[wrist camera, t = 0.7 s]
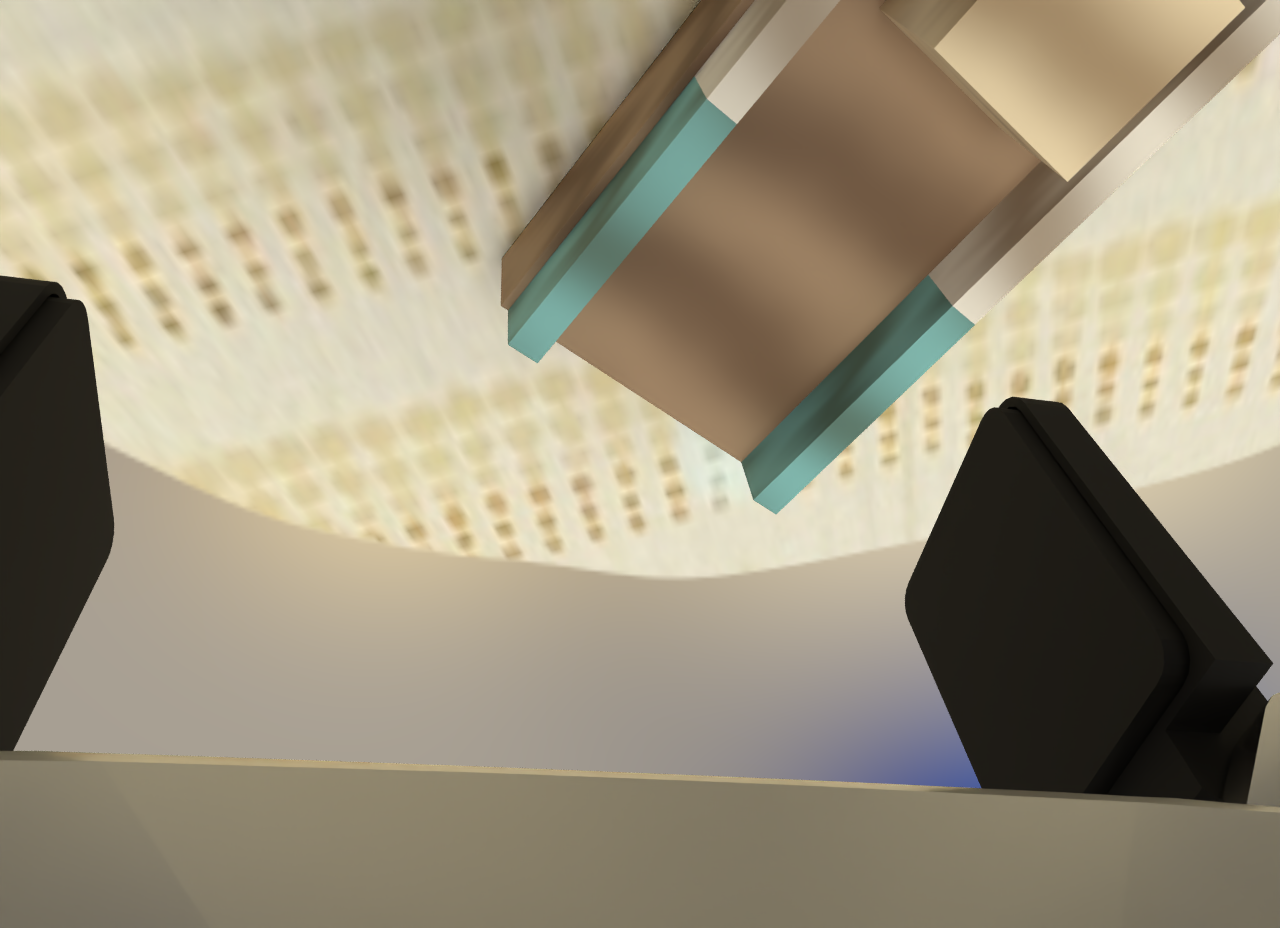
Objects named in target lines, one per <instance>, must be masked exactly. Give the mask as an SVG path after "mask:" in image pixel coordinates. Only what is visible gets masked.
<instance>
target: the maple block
mask: <svg viewBox="0 0 1280 928" xmlns="http://www.w3.org/2000/svg"><path fill="white" fill-rule="evenodd" d="M1244 8H1245V7H1244V5H1243V4H1242V3H1241V1H1240V0H886V1H885V3H884V4H883V5H882V6H881V7H880V8H879V9H880V10H881V11H882V12H883V13H884V14H885V15H886V16H887V17H888V18H889V19H890V20H891V21H892V22H893V23H894V24H895V25H896V26H897V27H898V28H899V29H900V30H901V31H902V32H903V33H904V34H905V35H906V36H907V37H908V38H909V39H911V40H912V41H913V42H914V43H915V44H916V45H917V46H918V47H919V48H920V49H921V50H922V51H923V52H924V53H925V54H926V55H927V56H928V57H929V58H930V59H931V60H932V61H933V62H934V63H935V64H936V65H937V66H938V67H939V68H940V69H941V70H942V71H943V72H944V73H945V74H946V75H947V76H948V77H949V78H950V79H951V80H952V81H953V82H954V83H955V84H956V85H957V86H958V87H959V88H960V89H961V90H962V91H963V92H964V93H965V94H966V95H967V96H968V97H969V98H970V99H971V100H972V101H973V102H974V103H975V104H976V105H977V106H978V107H979V108H980V109H981V110H982V111H983V112H984V113H985V114H986V115H987V116H988V117H989V118H990V119H991V120H992V121H993V122H994V123H995V124H996V125H997V126H998V127H999V128H1000V129H1002V130H1003V131H1004V132H1005V133H1007V134H1008V135H1009V136H1010V137H1012V138H1013V139H1014V140H1015V141H1017V142H1018V143H1019V144H1021V145H1022V146H1023V147H1024V148H1026V149H1027V150H1028V151H1029V152H1031V153H1032V154H1033V155H1034V156H1036V157H1037V158H1038V159H1039V160H1041V161H1042V162H1043V163H1045V164H1046V165H1047V166H1048V167H1050V168H1051V169H1052V170H1053V171H1055V172H1056V173H1057V174H1058V175H1060V176H1061V177H1062V178H1063V179H1065V180H1066V181H1067V182H1068V181H1069V180H1070V179H1071V178H1072V177H1073V176H1074V175H1075V174H1076V173H1077V172H1078V171H1079V170H1080V169H1081V168H1082V167H1083V166H1084V165H1085V164H1086V163H1087V162H1088V161H1089V160H1090V159H1091V158H1092V157H1093V156H1094V155H1095V154H1096V153H1097V152H1098V151H1099V150H1101V149H1102V148H1103V147H1104V146H1105V145H1106V144H1107V143H1108V142H1109V141H1110V140H1111V139H1112V138H1113V137H1114V136H1115V135H1116V134H1117V133H1118V132H1119V131H1120V130H1121V129H1122V128H1123V127H1124V126H1125V125H1126V124H1127V123H1128V122H1129V121H1130V120H1131V119H1132V118H1133V117H1134V116H1135V115H1136V114H1137V113H1138V112H1139V111H1140V110H1141V109H1142V108H1143V107H1144V106H1145V105H1146V104H1147V103H1148V102H1149V101H1151V100H1152V99H1153V98H1154V97H1155V96H1156V95H1157V94H1158V93H1159V92H1160V91H1161V90H1162V89H1163V88H1164V87H1165V86H1166V85H1167V84H1168V83H1169V82H1170V81H1171V80H1172V79H1173V78H1174V77H1175V76H1176V75H1177V74H1178V73H1179V72H1180V71H1181V70H1182V69H1183V68H1184V67H1185V66H1186V65H1187V64H1188V63H1189V62H1190V61H1191V60H1192V59H1193V58H1194V57H1195V56H1196V55H1197V54H1198V53H1199V52H1200V51H1202V50H1203V49H1204V48H1205V47H1206V46H1207V45H1208V44H1209V43H1210V42H1211V41H1212V40H1213V39H1214V38H1215V37H1216V36H1217V35H1218V34H1219V33H1220V32H1221V31H1222V30H1223V29H1224V28H1225V27H1226V26H1227V25H1228V24H1229V23H1230V22H1231V21H1232V20H1233V19H1234V18H1235V17H1236V16H1237V15H1238V14H1239V13H1240V12H1241V11H1242V10H1243V9H1244Z"/></svg>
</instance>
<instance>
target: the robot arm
mask: <svg viewBox="0 0 1280 928" xmlns="http://www.w3.org/2000/svg"><path fill="white" fill-rule="evenodd" d="M113 536H114V517H113V510H112V501H111V494H110V486H109V478H108V471H107V463H106V455H105V447H104V440H103V432H102V424H101V417H100V409H99V401H98V393H97V386H96V378H95V370H94V362H93V355H92V347H91V339H90V332H89V324H88V317H87V312H86V308H85V306H84V304H83V303H82V302H81V301H80V300H73V299H67V297H66V294H65V292H64V290H63V288H62V286H61V285H60V284H59V283H57V282H50V281H41V280H33V279H25V278H16V277H8V276H0V928H1280V693H1278V694H1275V695H1273V696H1272V697H1271V698H1270V699H1269V701H1267V700H1266V698H1265V697H1264V696H1263V695H1262V693H1261V692H1260V691H1259V689H1258V688H1257V687H1256V685H1257V684H1258V683H1259V682H1260V680H1261V679H1262V678H1263V676H1264V675H1265V674H1266V672H1267V671H1268V670H1269V668H1270V667H1271V666H1272V664H1273V662H1272V661H1271V660H1270V659H1269V657H1268V656H1267V655H1266V654H1265V652H1264V651H1263V650H1262V649H1261V648H1260V646H1259V645H1258V644H1257V643H1256V641H1255V640H1254V639H1253V638H1252V636H1251V635H1250V634H1249V633H1248V631H1247V630H1246V629H1245V628H1244V626H1243V625H1242V624H1241V623H1240V621H1239V620H1238V619H1237V618H1236V616H1235V615H1234V614H1233V613H1232V612H1231V610H1230V609H1229V608H1228V606H1227V605H1226V604H1225V603H1224V601H1223V600H1222V599H1221V598H1220V596H1219V595H1218V594H1217V593H1216V591H1215V590H1214V589H1213V588H1212V587H1211V585H1210V584H1209V583H1208V582H1207V580H1206V579H1205V578H1204V577H1203V575H1202V574H1201V573H1200V572H1199V570H1198V569H1197V568H1196V567H1195V565H1194V564H1193V563H1192V562H1191V560H1190V559H1189V558H1188V557H1187V555H1186V554H1185V553H1184V552H1183V550H1182V549H1181V548H1180V547H1179V545H1178V544H1177V543H1176V542H1175V541H1174V539H1173V538H1172V537H1171V535H1170V534H1169V533H1168V532H1167V531H1166V529H1165V528H1164V527H1163V526H1162V524H1161V523H1160V522H1159V521H1158V519H1157V518H1156V517H1155V516H1154V514H1153V513H1152V512H1151V511H1150V509H1149V508H1148V507H1147V506H1146V504H1145V503H1144V502H1143V501H1142V499H1141V498H1140V497H1139V496H1138V494H1137V493H1136V492H1135V491H1134V489H1133V488H1132V487H1131V486H1130V484H1129V483H1128V482H1127V481H1126V479H1125V478H1124V477H1123V476H1122V474H1121V473H1120V472H1119V471H1118V469H1117V468H1116V467H1115V466H1114V465H1113V463H1112V462H1111V461H1110V460H1109V458H1108V457H1107V456H1106V455H1105V453H1104V452H1103V451H1102V450H1101V448H1100V447H1099V446H1098V445H1097V443H1096V442H1095V441H1094V440H1093V438H1092V437H1091V436H1090V435H1089V433H1088V432H1087V431H1086V430H1085V428H1084V427H1083V426H1082V425H1081V423H1080V422H1079V421H1078V420H1077V418H1076V417H1075V416H1074V415H1073V413H1072V412H1071V411H1070V410H1069V408H1068V407H1066V406H1065V405H1064V404H1063V403H1059V402H1052V401H1044V400H1036V399H1027V398H1019V397H1011V398H1008V399H1006V400H1005V401H1004V402H1003V403H1002V404H1001V405H1000V406H999V408H995V407H994V408H992V409H989V410H988V411H987V412H986V413H985V415H984V417H983V418H982V420H981V422H980V424H979V427H978V429H977V431H976V433H975V436H974V438H973V440H972V442H971V445H970V447H969V449H968V451H967V453H966V456H965V458H964V460H963V462H962V465H961V467H960V469H959V471H958V474H957V476H956V478H955V480H954V482H953V485H952V487H951V489H950V491H949V494H948V496H947V498H946V500H945V503H944V505H943V507H942V509H941V512H940V514H939V516H938V518H937V520H936V523H935V525H934V527H933V529H932V532H931V534H930V536H929V538H928V541H927V543H926V545H925V547H924V549H923V552H922V554H921V556H920V558H919V561H918V563H917V565H916V568H915V570H914V572H913V574H912V576H911V579H910V581H909V583H908V587H907V589H906V595H905V609H906V614H907V617H908V620H909V622H910V625H911V626H912V629H913V631H914V634H915V636H916V638H917V641H918V643H919V645H920V648H921V650H922V652H923V654H924V657H925V659H926V661H927V664H928V666H929V668H930V671H931V673H932V675H933V677H934V680H935V682H936V684H937V686H938V689H939V691H940V694H941V696H942V698H943V700H944V703H945V705H946V707H947V709H948V712H949V714H950V716H951V719H952V721H953V723H954V726H955V728H956V730H957V732H958V735H959V737H960V739H961V742H962V744H963V746H964V749H965V751H966V753H967V756H968V758H969V760H970V762H971V765H972V767H973V769H974V772H975V774H976V776H977V778H978V781H979V783H980V785H981V788H962V787H940V786H920V785H899V784H877V783H857V782H835V781H815V780H790V779H768V778H767V779H766V778H745V777H721V776H697V775H675V774H651V773H626V772H603V771H578V770H577V771H576V770H553V769H529V768H504V767H480V766H450V765H424V764H397V763H396V764H395V763H370V762H342V761H314V760H286V759H261V758H233V757H205V756H178V755H176V756H175V755H146V754H115V753H112V754H111V753H83V752H53V751H13V750H14V748H15V746H16V744H17V742H18V740H19V738H20V736H21V734H22V731H23V730H24V727H25V726H26V723H27V721H28V719H29V717H30V715H31V713H32V711H33V709H34V707H35V705H36V703H37V701H38V699H39V697H40V695H41V693H42V691H43V689H44V687H45V685H46V683H47V681H48V679H49V677H50V675H51V673H52V671H53V669H54V667H55V665H56V662H57V661H58V659H59V656H60V654H61V652H62V650H63V648H64V646H65V644H66V642H67V640H68V638H69V636H70V634H71V632H72V630H73V628H74V626H75V624H76V622H77V620H78V618H79V616H80V614H81V612H82V610H83V608H84V606H85V603H86V602H87V599H88V598H89V595H90V593H91V591H92V589H93V587H94V585H95V583H96V581H97V579H98V577H99V575H100V573H101V571H102V569H103V567H104V565H105V563H106V561H107V559H108V556H109V554H110V551H111V547H112V542H113Z"/></svg>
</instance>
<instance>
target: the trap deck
mask: <svg viewBox="0 0 1280 928" xmlns="http://www.w3.org/2000/svg"><path fill="white" fill-rule="evenodd" d="M885 1H886V0H701V1H700V2H699V4H698V5H697V6H696V8H695V9H694V10H693V11H692V13H691V14H690V15H689V17H688V18H687V19H686V20H685V22H684V23H683V24H682V26H681V27H680V28H679V30H678V31H677V32H676V33H675V35H674V36H673V37H672V39H671V40H670V41H669V43H668V44H667V45H666V46H665V48H664V49H663V50H662V52H661V53H660V54H659V55H658V57H657V58H656V59H655V61H654V62H653V63H652V65H651V66H650V67H649V68H648V70H647V71H646V72H645V74H644V75H643V76H642V78H641V79H640V80H639V81H638V83H637V84H636V85H635V87H634V88H633V89H632V90H631V92H630V93H629V94H628V96H627V97H626V98H625V100H624V101H623V102H622V103H621V105H620V106H619V107H618V109H617V110H616V111H615V113H614V114H613V115H612V116H611V118H610V119H609V120H608V122H607V123H606V124H605V126H604V127H603V128H602V129H601V131H600V132H599V133H598V135H597V136H596V137H595V138H594V140H593V141H592V142H591V144H590V145H589V146H588V148H587V149H586V150H585V151H584V153H583V154H582V155H581V157H580V158H579V159H578V161H577V162H576V163H575V164H574V166H573V167H572V168H571V170H570V171H569V172H568V173H567V175H566V176H565V177H564V179H563V180H562V181H561V183H560V184H559V185H558V186H557V188H556V189H555V190H554V192H553V193H552V194H551V196H550V197H549V198H548V199H547V201H546V202H545V203H544V205H543V206H542V207H541V208H540V210H539V211H538V212H537V214H536V215H535V216H534V218H533V219H532V220H531V221H530V223H529V224H528V225H527V227H526V228H525V229H524V231H523V232H522V233H521V234H520V236H519V237H518V238H517V240H516V241H515V242H514V243H513V245H512V246H511V247H510V249H509V250H508V251H507V253H506V254H505V255H504V256H503V258H502V278H501V306H502V307H504V308H505V309H507V310H508V345H509V346H511V347H513V348H514V349H516V350H517V351H519V352H521V353H522V354H524V355H525V356H527V357H528V358H530V359H532V360H533V361H535V362H536V363H538V362H539V361H540V360H541V359H542V357H543V356H544V355H545V354H546V353H547V351H548V350H549V349H550V348H551V347H552V345H553V344H554V343H555V342H558V343H559V344H561V345H562V346H564V347H565V348H567V349H568V350H570V351H571V352H573V353H574V354H576V355H578V356H579V357H581V358H582V359H584V360H585V361H587V362H588V363H590V364H591V365H593V366H594V367H596V368H598V369H599V370H601V371H602V372H604V373H605V374H607V375H608V376H610V377H611V378H613V379H614V380H616V381H618V382H619V383H621V384H622V385H624V386H625V387H627V388H628V389H630V390H631V391H633V392H634V393H636V394H637V395H639V396H641V397H642V398H644V399H645V400H647V401H648V402H650V403H651V404H653V405H654V406H656V407H657V408H659V409H661V410H662V411H664V412H665V413H667V414H668V415H670V416H671V417H673V418H674V419H676V420H677V421H679V422H681V423H682V424H684V425H685V426H687V427H688V428H690V429H691V430H693V431H694V432H696V433H697V434H699V435H701V436H702V437H704V438H705V439H707V440H708V441H710V442H711V443H713V444H714V445H716V446H717V447H719V448H720V449H722V450H724V451H725V452H727V453H728V454H730V455H731V456H733V457H734V458H736V459H737V460H739V461H740V462H741V463H742V466H743V469H744V472H745V475H746V478H747V481H748V484H749V488H750V491H751V494H752V497H753V500H754V501H756V502H757V503H759V504H761V505H762V506H764V507H765V508H767V509H768V510H770V511H772V512H773V513H775V514H777V513H778V512H779V511H780V510H781V509H782V508H783V507H784V506H786V505H787V504H788V503H789V502H790V501H791V500H792V499H793V498H794V497H795V496H796V495H797V494H798V493H799V492H800V491H801V490H802V489H803V488H804V487H805V486H806V485H808V484H809V483H810V482H811V481H812V480H813V479H814V478H815V477H816V476H817V475H818V474H819V473H820V472H821V471H822V470H823V469H824V468H825V467H826V466H827V465H829V464H830V463H831V462H832V461H833V460H834V459H835V458H836V457H837V456H838V455H839V454H840V453H841V452H842V451H843V450H844V449H845V448H846V447H847V446H848V445H849V444H851V443H852V442H853V441H854V440H855V439H856V438H857V437H858V436H859V435H860V434H861V433H862V432H863V431H864V430H865V429H866V428H867V427H868V426H869V425H870V424H871V423H873V422H874V421H875V420H876V419H877V418H878V417H879V416H880V415H881V414H882V413H883V412H884V411H885V410H886V409H887V408H888V407H889V406H890V405H891V404H892V403H893V402H895V401H896V400H897V399H898V398H899V397H900V396H901V395H902V394H903V393H904V392H905V391H906V390H907V389H908V388H909V387H910V386H911V385H912V384H913V383H914V382H916V381H917V380H918V379H919V378H920V377H921V376H922V375H923V374H924V373H925V372H926V371H927V370H928V369H929V368H930V367H931V366H932V365H933V364H934V363H935V362H936V361H938V360H939V359H940V358H941V357H942V356H943V355H944V354H945V353H946V352H947V351H948V350H949V349H950V348H951V347H952V346H953V345H954V344H955V343H956V342H957V341H958V340H960V339H961V338H962V337H963V336H964V335H965V334H966V333H967V332H968V331H969V330H970V329H971V328H972V327H973V326H974V325H975V324H976V323H977V322H978V321H979V320H981V319H982V318H983V317H984V316H985V315H986V314H987V313H988V312H989V311H990V310H991V309H992V308H993V307H994V306H995V305H996V304H997V303H998V302H999V301H1000V300H1001V299H1003V298H1004V297H1005V296H1006V295H1007V294H1008V293H1009V292H1010V291H1011V290H1012V289H1013V288H1014V287H1015V286H1016V285H1017V284H1018V283H1019V282H1020V281H1021V280H1022V279H1023V278H1025V277H1026V276H1027V275H1028V274H1029V273H1030V272H1031V271H1032V270H1033V269H1034V268H1035V267H1036V266H1037V265H1038V264H1039V263H1040V262H1041V261H1042V260H1043V259H1044V258H1045V257H1047V256H1048V255H1049V254H1050V253H1051V252H1052V251H1053V250H1054V249H1055V248H1056V247H1057V246H1058V245H1059V244H1060V243H1061V242H1062V241H1063V240H1064V239H1065V238H1066V237H1068V236H1069V235H1070V234H1071V233H1072V232H1073V231H1074V230H1075V229H1076V228H1077V227H1078V226H1079V225H1080V224H1081V223H1082V222H1083V221H1084V220H1085V219H1086V218H1087V217H1088V216H1090V215H1091V214H1092V213H1093V212H1094V211H1095V210H1096V209H1097V208H1098V207H1099V206H1100V205H1101V204H1102V203H1103V202H1104V201H1105V200H1106V199H1107V198H1108V197H1109V196H1110V195H1112V194H1113V193H1114V192H1115V191H1116V190H1117V189H1118V188H1119V187H1120V186H1121V185H1122V184H1123V183H1124V182H1125V181H1126V180H1127V179H1128V178H1129V177H1130V176H1131V175H1132V174H1134V173H1135V172H1136V171H1137V170H1138V169H1139V168H1140V167H1141V166H1142V165H1143V164H1144V163H1145V162H1146V161H1147V160H1148V159H1149V158H1150V157H1151V156H1152V155H1153V154H1155V153H1156V152H1157V151H1158V150H1159V149H1160V148H1161V147H1162V146H1163V145H1164V144H1165V143H1166V142H1167V141H1168V140H1169V139H1170V138H1171V137H1172V136H1173V135H1174V134H1175V133H1177V132H1178V131H1179V130H1180V129H1181V128H1182V127H1183V126H1184V125H1185V124H1186V123H1187V122H1188V121H1189V120H1190V119H1191V118H1192V117H1193V116H1194V115H1195V114H1196V113H1197V112H1199V111H1200V110H1201V109H1202V108H1203V107H1204V106H1205V105H1206V104H1207V103H1208V102H1209V101H1210V100H1211V99H1212V98H1213V97H1214V96H1215V95H1216V94H1217V93H1218V92H1220V91H1221V90H1222V89H1223V88H1224V87H1225V86H1226V85H1227V84H1228V83H1229V82H1230V81H1231V80H1232V79H1233V78H1234V77H1235V76H1236V75H1237V74H1238V73H1239V72H1240V71H1242V70H1243V69H1244V68H1245V67H1246V66H1247V65H1248V64H1249V63H1250V62H1251V61H1252V60H1253V59H1254V58H1255V57H1256V56H1257V55H1258V54H1259V53H1260V52H1261V51H1262V50H1264V49H1265V48H1266V47H1267V46H1268V45H1269V44H1270V43H1271V42H1272V41H1273V40H1274V39H1275V38H1276V37H1277V36H1278V35H1279V34H1280V0H1240V1H1241V3H1242V4H1243V5H1244V7H1245V8H1244V9H1243V10H1242V11H1241V12H1240V13H1239V14H1238V15H1237V16H1236V17H1235V18H1234V19H1233V20H1232V21H1231V22H1230V23H1229V24H1228V25H1227V26H1226V27H1225V28H1224V29H1223V30H1222V31H1221V32H1220V33H1219V34H1218V35H1217V36H1216V37H1215V38H1214V39H1213V40H1212V41H1211V42H1210V43H1209V44H1208V45H1207V46H1206V47H1205V48H1204V49H1203V50H1202V51H1200V52H1199V53H1198V54H1197V55H1196V56H1195V57H1194V58H1193V59H1192V60H1191V61H1190V62H1189V63H1188V64H1187V65H1186V66H1185V67H1184V68H1183V69H1182V70H1181V71H1180V72H1179V73H1178V74H1177V75H1176V76H1175V77H1174V78H1173V79H1172V80H1171V81H1170V82H1169V83H1168V84H1167V85H1166V86H1165V87H1164V88H1163V89H1162V90H1161V91H1160V92H1159V93H1158V94H1157V95H1156V96H1155V97H1154V98H1153V99H1152V100H1151V101H1149V102H1148V103H1147V104H1146V105H1145V106H1144V107H1143V108H1142V109H1141V110H1140V111H1139V112H1138V113H1137V114H1136V115H1135V116H1134V117H1133V118H1132V119H1131V120H1130V121H1129V122H1128V123H1127V124H1126V125H1125V126H1124V127H1123V128H1122V129H1121V130H1120V131H1119V132H1118V133H1117V134H1116V135H1115V136H1114V137H1113V138H1112V139H1111V140H1110V141H1109V142H1108V143H1107V144H1106V145H1105V146H1104V147H1103V148H1102V149H1101V150H1099V151H1098V152H1097V153H1096V154H1095V155H1094V156H1093V157H1092V158H1091V159H1090V160H1089V161H1088V162H1087V163H1086V164H1085V165H1084V166H1083V167H1082V168H1081V169H1080V170H1079V171H1078V172H1077V173H1076V174H1075V175H1074V176H1073V177H1072V178H1071V179H1070V180H1069V181H1068V182H1067V181H1066V180H1065V179H1063V178H1062V177H1061V176H1060V175H1058V174H1057V173H1056V172H1055V171H1053V170H1052V169H1051V168H1050V167H1048V166H1047V165H1046V164H1045V163H1043V162H1042V161H1041V160H1039V159H1038V158H1037V157H1036V156H1034V155H1033V154H1032V153H1031V152H1029V151H1028V150H1027V149H1026V148H1024V147H1023V146H1022V145H1021V144H1019V143H1018V142H1017V141H1015V140H1014V139H1013V138H1012V137H1010V136H1009V135H1008V134H1007V133H1005V132H1004V131H1003V130H1002V129H1000V128H999V127H998V126H997V125H996V124H995V123H994V122H993V121H992V120H991V119H990V118H989V117H988V116H987V115H986V114H985V113H984V112H983V111H982V110H981V109H980V108H979V107H978V106H977V105H976V104H975V103H974V102H973V101H972V100H971V99H970V98H969V97H968V96H967V95H966V94H965V93H964V92H963V91H962V90H961V89H960V88H959V87H958V86H957V85H956V84H955V83H954V82H953V81H952V80H951V79H950V78H949V77H948V76H947V75H946V74H945V73H944V72H943V71H942V70H941V69H940V68H939V67H938V66H937V65H936V64H935V63H934V62H933V61H932V60H931V59H930V58H929V57H928V56H927V55H926V54H925V53H924V52H923V51H922V50H921V49H920V48H919V47H918V46H917V45H916V44H915V43H914V42H913V41H912V40H911V39H909V38H908V37H907V36H906V35H905V34H904V33H903V32H902V31H901V30H900V29H899V28H898V27H897V26H896V25H895V24H894V23H893V22H892V21H891V20H890V19H889V18H888V17H887V16H886V15H885V14H884V13H883V12H882V11H881V10H880V9H879V8H880V7H881V6H882V5H883V4H884V3H885Z"/></svg>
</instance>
